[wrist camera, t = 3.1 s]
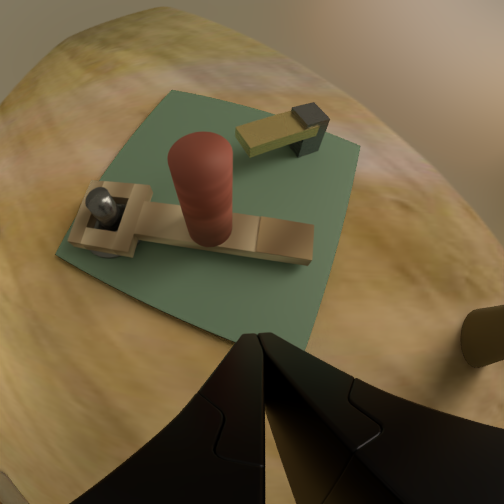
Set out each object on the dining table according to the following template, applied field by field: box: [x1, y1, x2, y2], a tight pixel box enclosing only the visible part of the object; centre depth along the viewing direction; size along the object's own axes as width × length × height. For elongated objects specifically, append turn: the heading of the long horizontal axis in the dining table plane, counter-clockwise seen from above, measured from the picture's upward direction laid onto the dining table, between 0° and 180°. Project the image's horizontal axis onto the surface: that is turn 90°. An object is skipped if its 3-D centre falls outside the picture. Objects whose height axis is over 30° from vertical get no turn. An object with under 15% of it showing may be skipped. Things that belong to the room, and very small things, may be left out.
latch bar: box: [68, 131, 314, 266], centre depth 18 cm, size 19×6×9 cm, turn 82°
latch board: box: [56, 90, 360, 351], centre depth 24 cm, size 22×22×1 cm
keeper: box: [235, 102, 330, 158], centre depth 24 cm, size 8×3×5 cm, turn 118°
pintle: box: [85, 187, 142, 259], centre depth 21 cm, size 6×6×5 cm
